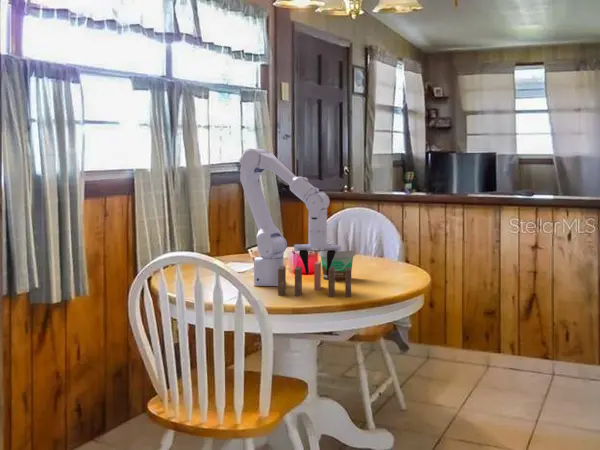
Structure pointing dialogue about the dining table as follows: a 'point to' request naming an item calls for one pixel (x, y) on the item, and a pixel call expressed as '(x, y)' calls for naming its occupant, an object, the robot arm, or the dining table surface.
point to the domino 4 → (331, 281)
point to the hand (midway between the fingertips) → (317, 274)
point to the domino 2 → (298, 281)
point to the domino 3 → (317, 275)
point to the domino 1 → (281, 281)
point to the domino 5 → (348, 282)
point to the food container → (337, 263)
